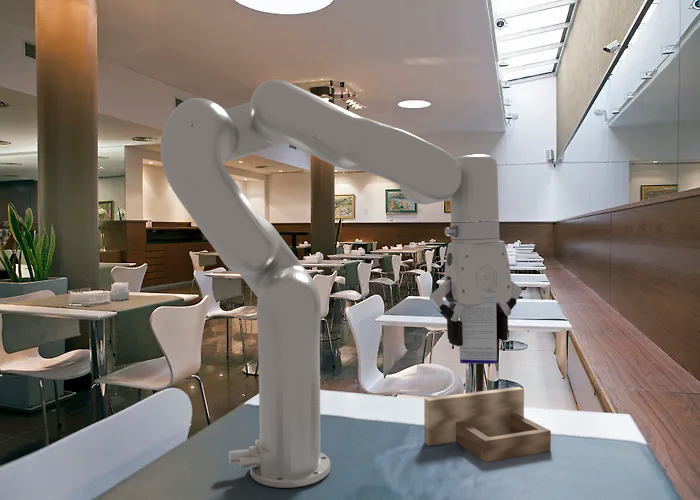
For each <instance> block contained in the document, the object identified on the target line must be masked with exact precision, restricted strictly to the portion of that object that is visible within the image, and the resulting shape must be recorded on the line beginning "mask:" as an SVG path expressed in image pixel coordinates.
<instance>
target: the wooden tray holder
mask: <svg viewBox="0 0 700 500" xmlns="http://www.w3.org/2000/svg"><path fill="white" fill-rule="evenodd" d="M423 399H424V401H423V402H424V415H423V416H424V420H423V421H424V427H423V428H424V432H423V434H424V438H423V439H424V441H423V442H424V443H425V445H427V446H435V445H442V444H448V443H449V444H450V443H454V442H455V443H457V444H459V445H460V446H462V447H463V448H465V450H467V451H469V452H470V453H471V454H472V455H475V456H476V457H477V458H478V459H480V460H482V461H483V462H484V463H488V462H494V461H499V460H500V461H501V460H506V459H511V458H517V457H518V458H519V457H523V456H529V455H535V454H541V453H542V454H543V453H546V452H551V451H552V449H551V448H552V447H551V445H552V444H551V443H552V440H551V437H552V436H551V435H552V432H551V430H550V429H548V428H546V427H544V426H542V425H541V424H540V425H539V424H538V423H536V422H534V421H532V420H530V419H529V418H526V417H525V388H524V387H520V386H515V387H506V388H499V389H489V390H482V391H472V392H465V393H457V394H449V395H448V394H447V395H441V396H433V397H432V396H430V397H425V398H423Z"/></svg>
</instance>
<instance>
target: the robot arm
mask: <svg viewBox="0 0 700 500" xmlns="http://www.w3.org/2000/svg"><path fill="white" fill-rule="evenodd" d="M283 144H287V145H290V146H291V147H294V148H297V149H298V150H301V151H302V152H304V153H306V154H309V155H311V156H313V157H315V158H318V159H319V160H322V161H324V162H326V163H328V164H330V165H331V166H334V167H337V168H340V169H344V170H352V171H360V172H365V173H369V174H372V175H375V176H378V177H380V178H383V179H385V180H387V181H390V182H392V183H395V184H397V185H399V188H400V191H401V194H402V195H403V196H404V197H405V198H406V199H407V200H408V201H410V202H411V203H414V204H417V205H430V204H434V203H440V202H441V203H442V202H446V201H447V202H449V201H450V202H449V203H450V204H449V206H450V224H449V225H450V226H449V227H445V228H444V235H445V236H446V237H450V240H451V242H449V243H448V245H447V249H446V254H445V263H444V282H443V283H442V284H441V285H440V286H439V287H438V288H436V290H434V291H433V292H432V293H431V294H430V295H429V300H430V301H431V302H432V303H431V304H433V305H434V307H435V308H436V310H437V311H438V312H439V313H440V314H441V315H442V316H443V318H444V319H445V320H446V327H447V329H446V330H447V331H446V333H447V334H446V335H447V339H448V342H449V344H451V345H453V346H456V347H460V346H462V345H463V335H462V322H461V321H460V315H461V313H462V311H463V309H464V306H476V305H480V304H482V303H483V293H484V292H490V291H495V292H496V323H497V340H499V341H508V335H509V334H508V333H509V320H508V316H509V317H510V316H511V313H512V309H514V307H515V306H516V304H517V302H518V301H517V300H518V299H519V298H520V296H521V294H522V292H523V289H522V288H521V286H519V285H517V284H516V283H515V282H513V280H512V276H511V267H510V261H509V255H508V251H507V247H506V243H505V241H504V240H500V221H499V220H500V219H499V218H500V215H499V214H500V213H499V211H500V209H499V184H498V183H499V182H498V180H499V179H498V163H497V160H496V159H495V158H494V157H493V156H491V155H487V154H470V155H469V154H468V155H462V156H458V157H454V156H453V155H451V153H450V152H448V151H446V150H444V149H443V148H441V147H439V146H437V145H434V144H433V143H430V142H429V141H428V140H424V139H423V138H421V137H418V136H416V135H414V134H412V133H411V132H408V131H405V130H403V129H399V128H397V127H394V126H391V125H388V124H385V123H384V124H383V123H381V122H378V121H376V120H374V119H373V120H372V119H370V118H366V117H364V116H363V117H362V116H360V115H357V114H355V113H353V112H351V111H349V110H346V109H344V108H343V107H340V106H338V105H336V104H333V103H332V102H329V101H328V100H326V99H324V98H321V97H319V96H318V95H316V94H314V93H311V92H310V91H308V90H306V89H303V88H301V87H299V86H297V85H295V84H294V83H291V82H289V81H285V80H282V79H277V78H274V79H273V78H272V79H268V80H266V81H263V82H262V83H260V84H258V86H257V87H256V88H255V90H254V91H253V93H252V95H251V98H250V100H249V102H246V103H242V104H240V105H237V106H233V107H229V108H227V109H224V108H223V107H222V106H220V105H219V104H218V103H217V102H215V101H212V100H210V99H207V98H202V97H192V98H189V99H186V100H184V101H182V102H181V103H179V104H178V105H176V107H175V108H174V109H173V111H171V114H170V115H169V117H168V118H167V120H166V122H165V124H164V128H163V131H162V134H161V139H160V158H161V165H162V169H163V172H164V174H165V177H166V179H167V183H168V184H169V186H170V187H171V189H172V191H173V193H174V195H175V196H176V197H177V199H178V200H179V202H180V203H181V205H182V207H184V209H185V210H186V212H187V213H188V214H189V216H190V217H191V218H192V220H193V221H194V223H195V224H196V226H197V228H198V229H199V230H200V231H201V233H202V234H203V236H204V237H205V238H206V240H207V241H208V242H209V245H211V247H212V248H213V250H214V251H215V252H216V253H217V255H218V256H219V258H220V259H221V261H222V263H223V264H224V265H225V266H226V267H227V268H228V269H229V270H231V271H232V272H234V273H237V274H239V276H240V277H241V278H242V279H243V281H244V282H245V283H246V284H247V286H248V287H249V288H250V290H251V291H252V292H253V294H254V295H255V297H257V302H256V303H257V304H256V322H257V343H258V344H257V347H258V352H257V353H258V396H259V397H258V402H259V403H258V404H259V405H258V408H259V411H258V415H259V439H255V441H254V443H255V445H250V446H249V448H247V449H234V450H229V451H228V458H229V460H228V461H229V462H228V463H229V465H233V464H238V465H239V468H240V469H242V468H248V467H249V475H250V476H251V479H252V480H254V481H255V482H257V483H259V484H261V485H264V486H268V487H272V488H280V489H281V488H285V489H286V488H288V489H289V488H298V487H300V488H301V487H305V486H309V485H312V484H315V483H318V482H319V481H321V480H323V479H324V478H326V477H327V476H328V475H329V473H330V470H331V459H330V458H329V456H327V454H325V453H323V452H321V369H320V368H321V356H320V355H321V353H320V350H321V321H322V318H321V317H322V305H321V304H322V303H321V296H320V291H319V288H318V287H317V285H316V282H315V280H314V279H313V278H312V276H311V275H310V274H309V272H308V270H306V268H305V267H304V266H303V264H302V263H301V262H300V260H299V258H298V257H297V256H296V255H295V254H294V252H293V250H292V249H291V248H290V247H289V246H288V244H287V243H286V241H285V240H284V239H283V237H282V236H281V235H280V233H279V232H278V231H277V229H276V228H275V227H274V225H273V224H272V223H271V222H270V221H268V219H266V218H264V217H262V215H260V213H259V212H258V211H257V209H256V208H255V207H254V206H253V205H252V203H251V202H250V200H249V199H248V198H247V197H246V196H245V193H243V192H242V190H241V188H240V186H239V185H238V184H237V182H236V181H235V180H234V179H233V177H232V175H231V174H230V173H229V172H228V170H227V168H226V166H225V165H224V163H228V162H232V161H235V160H238V159H241V158H244V157H247V156H251V155H254V154H257V153H261V152H264V151H266V150H267V151H268V150H270V149H273V148H275V147H279V146H281V145H283ZM444 298H445V300H446V302H448V304H446V303H445V301H444Z"/></svg>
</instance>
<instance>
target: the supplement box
mask: <svg viewBox="0 0 700 500" xmlns="http://www.w3.org/2000/svg"><path fill="white" fill-rule="evenodd" d="M459 321H461V322H462V335H463V345H462V346H459V363H460V364H466V365H467V364H480V365H481V364H483V365H487V364H489V365H495V364H497V361H498V360H497V359H498V355H497V354H498V353H497V352H498V351H497V350H498V344H497V343H498V341H497V340H498V339H497V323H496V292H495V291H490V292H484V293H483V303H482V304H480V305H476V306H464V309H463V311H462V313H461V315H460V317H459Z"/></svg>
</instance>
